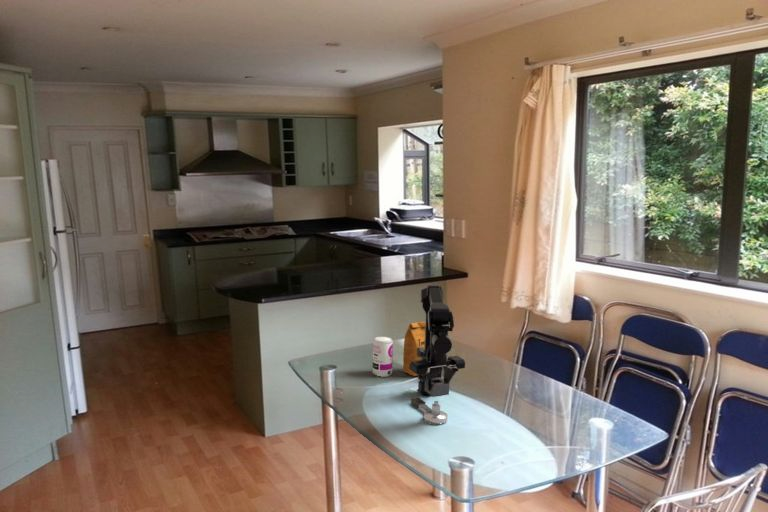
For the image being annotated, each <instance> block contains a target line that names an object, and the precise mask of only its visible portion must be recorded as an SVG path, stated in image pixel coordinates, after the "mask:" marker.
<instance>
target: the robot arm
mask: <svg viewBox="0 0 768 512" xmlns="http://www.w3.org/2000/svg"><path fill="white" fill-rule="evenodd" d="M444 291H445V290H444V289H442V286H441V285H438V284H437V285H427V286H426V287H425V288H423V289H421V290H420V294H419V303H420V306H421V308H422V310H423V312H424V314H425V315H424V321H425V350H424V348H423V347H422V348H417V357H421V358H420V360H419V361H412V362H411V363H410V366H409V369H410V370H411V371H413V372H414V373H415V374H417V376H416V377H417V379H418V380H419V381H418V383H417V384H418V385H417V386H418V387H417V389H416V391H417V392H418V393H419V394H420V395H422V396H423V397H424V398H426V397H432V396H431V395H430V394H429V393H427V392H426V391H425V384H426V387H427V390H428V391H430V387H431V379H432V378H438V377H441V378H442V379H444V380H445V381H447V382H448V383H449V384H450V383H451V380H452V378H453V377H454V376H455V375H456V372H459V370H460V369H466V361H465V359H464V358H462V357H460V356H458V355H451V356H448V355H447V354H448V353H449V352H450V351H452V347H453V344H452V340H451V339H450V336H449V332H453V329H454V328H455V323H454V314H453V312H452V310H450V308H449V305H447V304H446V303H445V304H444V299H445V297H444V295H445V294H444ZM442 375H443V377H442Z"/></svg>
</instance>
